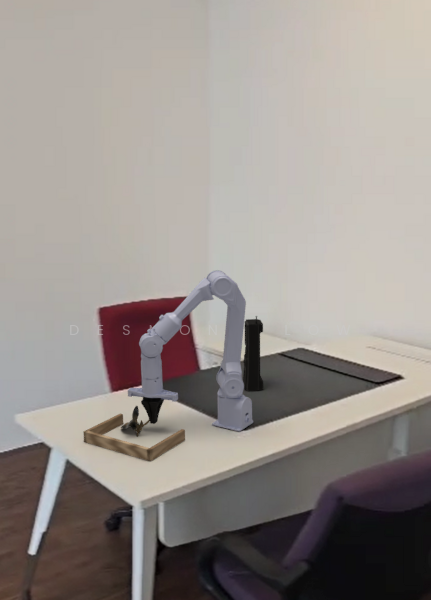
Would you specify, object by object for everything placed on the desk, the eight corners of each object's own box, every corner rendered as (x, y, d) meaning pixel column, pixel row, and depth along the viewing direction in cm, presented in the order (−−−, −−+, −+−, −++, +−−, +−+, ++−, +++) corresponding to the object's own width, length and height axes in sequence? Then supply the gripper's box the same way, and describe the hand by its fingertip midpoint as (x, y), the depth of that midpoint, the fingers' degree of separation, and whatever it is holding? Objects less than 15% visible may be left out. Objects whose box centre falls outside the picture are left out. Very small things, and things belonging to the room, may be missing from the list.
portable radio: (242, 383, 223) (241, 311, 218) (259, 382, 223) (259, 311, 218) (245, 391, 215) (244, 317, 210) (263, 390, 216) (263, 316, 210)
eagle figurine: (156, 429, 184) (143, 413, 191) (144, 413, 180) (132, 397, 187) (134, 446, 182) (122, 429, 189) (122, 430, 178) (110, 414, 185)
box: (185, 440, 179) (184, 429, 178) (150, 461, 166) (150, 450, 166) (120, 423, 191) (120, 413, 190) (84, 441, 179) (83, 431, 178)
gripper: (181, 374, 183) (183, 420, 186) (134, 369, 188) (137, 414, 191) (171, 382, 177) (173, 429, 180) (123, 377, 182) (125, 423, 185)
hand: (153, 422), depth 185 cm, fingers closed
